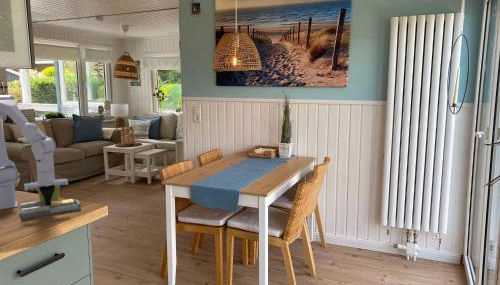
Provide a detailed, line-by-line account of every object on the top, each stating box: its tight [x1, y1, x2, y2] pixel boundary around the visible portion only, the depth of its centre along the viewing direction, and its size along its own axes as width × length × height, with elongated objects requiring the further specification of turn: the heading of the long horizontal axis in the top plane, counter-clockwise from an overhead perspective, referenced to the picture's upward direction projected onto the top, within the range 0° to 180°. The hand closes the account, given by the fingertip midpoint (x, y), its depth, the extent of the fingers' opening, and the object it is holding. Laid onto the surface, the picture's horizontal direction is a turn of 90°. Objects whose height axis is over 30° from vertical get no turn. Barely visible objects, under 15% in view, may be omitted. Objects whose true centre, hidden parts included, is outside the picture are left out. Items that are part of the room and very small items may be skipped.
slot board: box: [19, 200, 51, 220], centre depth 146 cm, size 9×9×4 cm
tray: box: [50, 198, 82, 215], centre depth 151 cm, size 8×11×2 cm
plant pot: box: [36, 185, 61, 201], centre depth 156 cm, size 9×9×9 cm
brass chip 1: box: [50, 199, 63, 208], centre depth 149 cm, size 4×4×2 cm
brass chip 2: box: [60, 198, 74, 206], centre depth 152 cm, size 4×4×2 cm
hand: (48, 205), depth 148 cm, fingers closed
